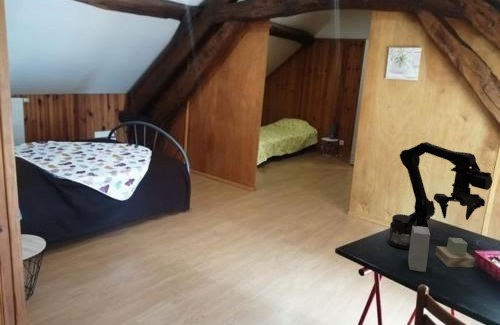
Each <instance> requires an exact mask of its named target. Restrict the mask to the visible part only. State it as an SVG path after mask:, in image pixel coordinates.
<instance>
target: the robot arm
mask: <svg viewBox="0 0 500 325" xmlns="http://www.w3.org/2000/svg"><path fill="white" fill-rule="evenodd" d="M425 154H429V155H431V156H434V157H437V158H441V159H444V160H446V161H448V162H450V163H451V164H452V165H453V166H454V167H452V168H450V171H452V172H455V175H454V180H453V183H452V184H451V187H452V192H450V196H448V195H446V194H445V193H438V192H437V193H436V192H435V193H434V195H433V200H429V198H428V197H427V193H426V190H425V186H424V183H423V179H422V174H421V172H420V161H421V160H420V157H421V156H423V155H425ZM399 159H400V161H401V163H402V165H403V166H404V167H405V168H406V170H407V173H408V177H409V181H410V184H411V188H412V191H413V195H414V199H415V202H414V212H412V213H411V214H409V215H408V216H411V217H414V218H415V219H416V220H417V223H416V226H420V227H428V228H429V224H428V223H429V222H428V220H430V219H431V217H433V216H434V215H435V214H436V206H435V202H436V203H438V204H439V207H440V209H441V214H442V218H443V219H446V217H447V212H448V207H449V204H448V203H449V202H456V203H457V202H458V203H459V205H460V206H462V207H466V209H465V211H466V212H465V220H466V221H468V220H469V219H470V218H471V216H472V214H473V213H474V212H475V210H477V209H478V208H479V209H480V208H482V207H485V205H486V201H485V199H484V198H483V197H481V196H480V195H479V194H477V193H471V190H472V189H471V187H474V188H477V189H480V190H481V189H482V190H486V191H489V190H490V189H491V187H492V185H493V178H492V173H491V172H487V171H481V168H480V166H479V164H478V163H477V158H476V156H475V154H473V153H471V152H465V151H453V150H450V149H448V148H445V147H442V146H439V145H436V144H432V143H430V142H428V141H426V142H421V143H419V144H417V145H415V146H412V147H411V148H408V149H403V150H402V151H401V152H400V154H399ZM470 185H471V187H470Z"/></svg>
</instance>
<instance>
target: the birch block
mask: <svg viewBox="0 0 500 325" xmlns="http://www.w3.org/2000/svg"><path fill="white" fill-rule="evenodd" d="M434 255H435V256H436V257H437V258H438V259H439V260H440V262H442V263H443V264H444V265H445V266H447V267H450V268H452V267H453V268H474V265H475V261H476V258H475V257H474V256H472V255H471V254H470V253H468V252H467V251H466V255H465V256H463V255H452V254H451V253H450V252H449V251H448V250H447V246H438V245H437V246H436V247H435V253H434Z"/></svg>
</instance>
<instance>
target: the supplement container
mask: <svg viewBox="0 0 500 325" xmlns="http://www.w3.org/2000/svg"><path fill="white" fill-rule="evenodd" d="M391 220H392V221H391V222H390V224H389V227H390V228H389V232H388V239H387V240H388V243H389V245H391V246H392V247H394V248H396V249H399V250H400V249H401V250H409V248H410V240H411V232H412V226H416V223H417V220H416V219H415V218H414V217H411V216H409V215H407V214H400V213H398V214H394V215H393V216H392V219H391Z"/></svg>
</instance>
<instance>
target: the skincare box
mask: <svg viewBox="0 0 500 325" xmlns="http://www.w3.org/2000/svg"><path fill="white" fill-rule="evenodd" d="M430 232H431V231H430V230H429V226H428V227H420V226H412V232H411V240H410V248H409V249H408V258H407V264H408V268H409V270H411V271H416V272H421V273H426V272H427V264H428V263H427V262H428V257H429V256H428V255H429V248H430V240H431V233H430Z"/></svg>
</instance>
